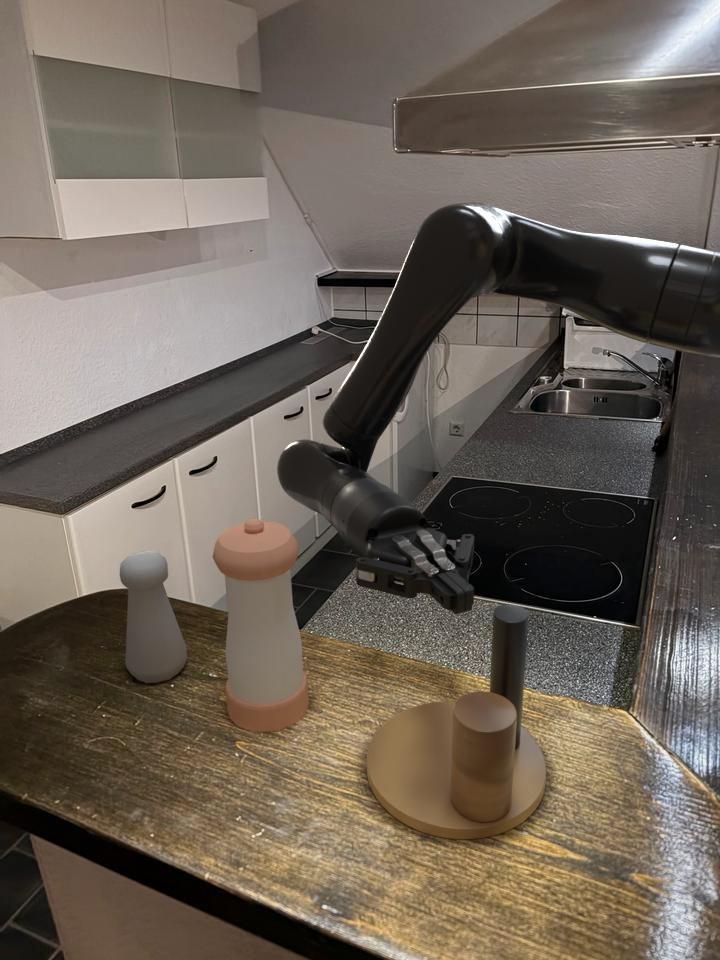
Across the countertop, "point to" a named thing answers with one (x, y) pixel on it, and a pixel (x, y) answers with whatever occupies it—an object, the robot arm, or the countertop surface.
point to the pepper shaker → (261, 626)
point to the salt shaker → (150, 620)
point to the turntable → (465, 751)
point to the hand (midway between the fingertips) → (465, 603)
